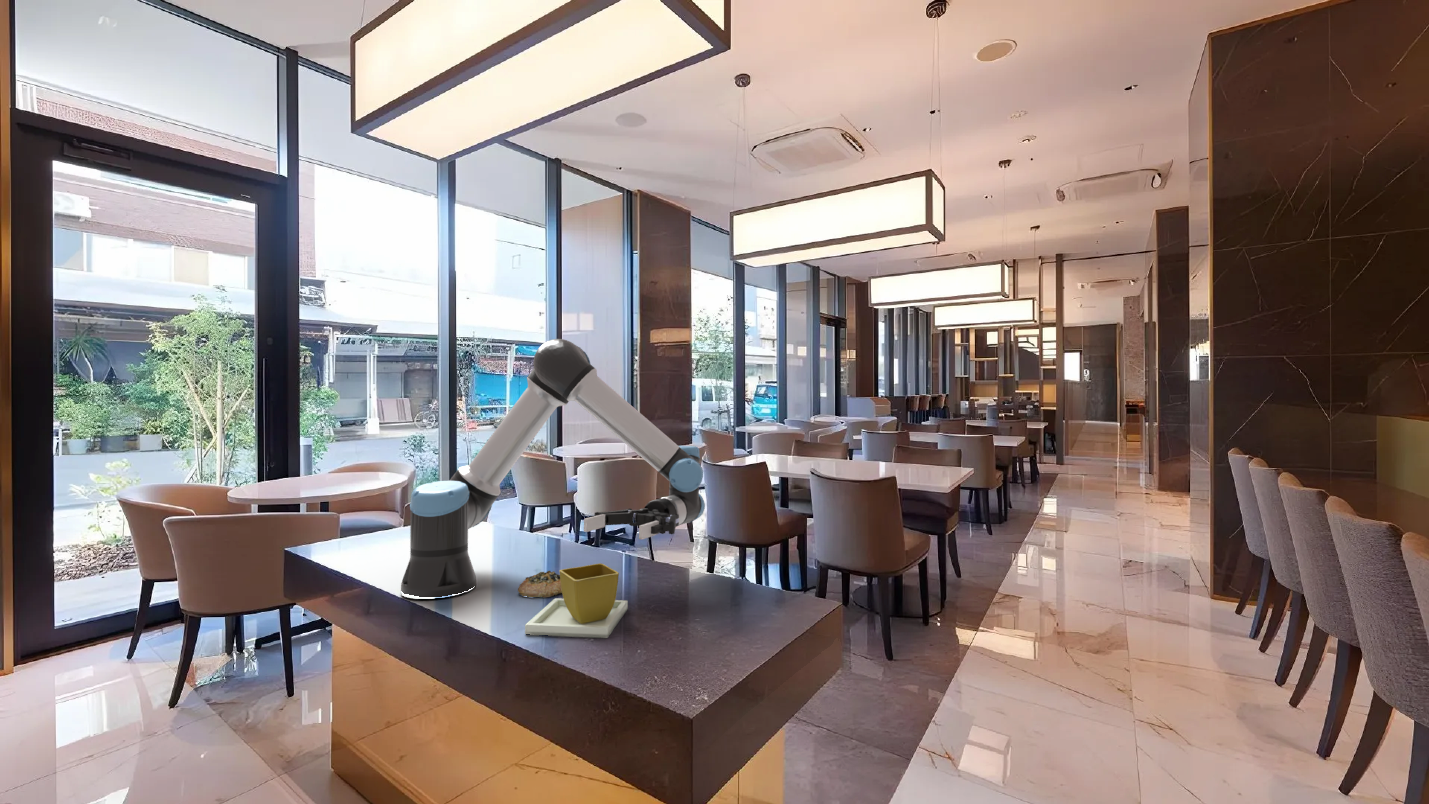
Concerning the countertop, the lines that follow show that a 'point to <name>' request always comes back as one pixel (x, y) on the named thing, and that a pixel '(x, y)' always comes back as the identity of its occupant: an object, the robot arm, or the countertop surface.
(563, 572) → the flower pot
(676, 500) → the robot arm
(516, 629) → the countertop surface
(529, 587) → the bread roll
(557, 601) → the tray
